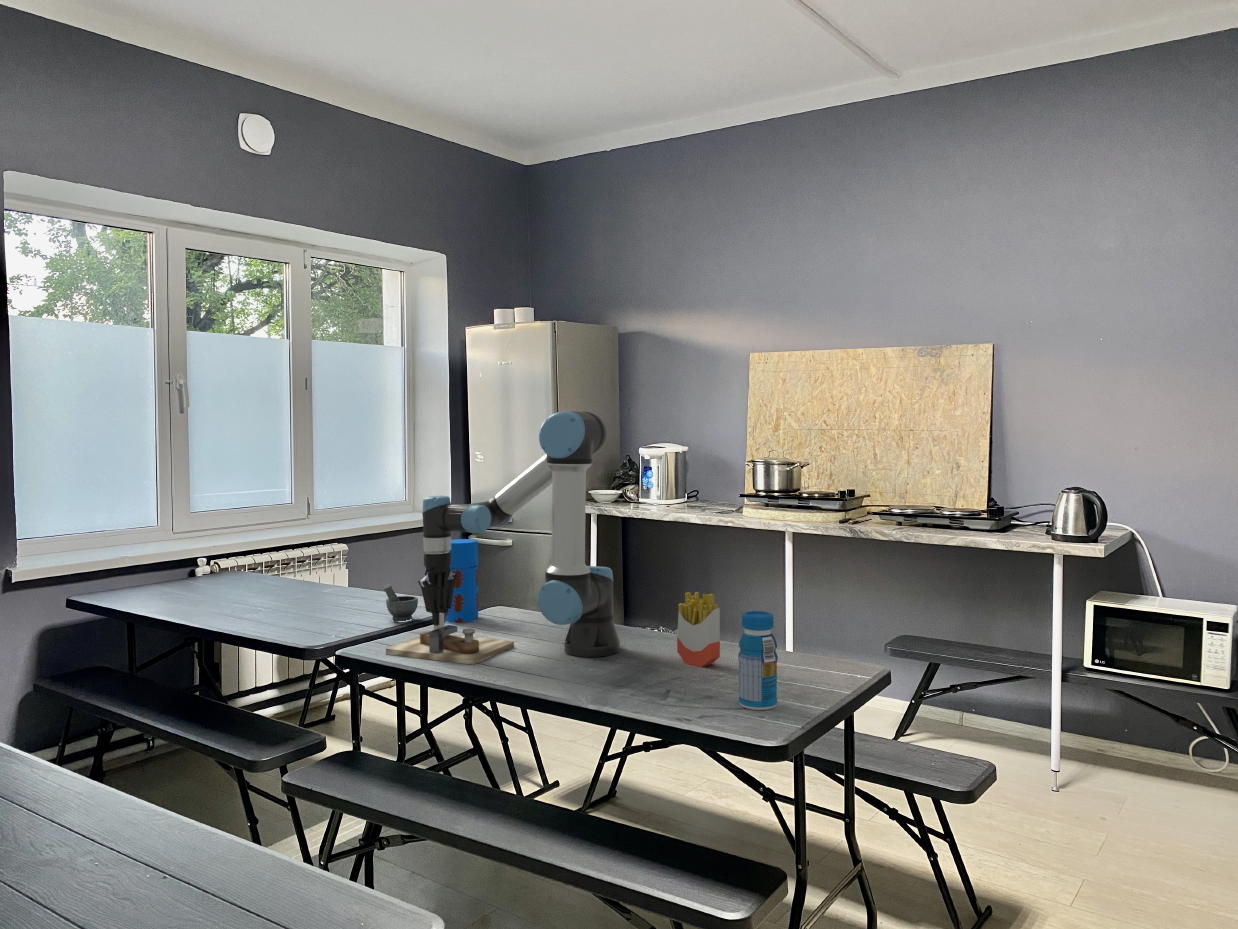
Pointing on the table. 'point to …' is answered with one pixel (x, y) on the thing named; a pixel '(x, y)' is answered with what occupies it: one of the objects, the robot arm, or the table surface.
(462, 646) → the link
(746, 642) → the beverage bottle
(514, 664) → the table surface
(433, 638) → the keeper
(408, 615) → the mortar and pestle
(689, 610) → the french fries container
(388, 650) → the board
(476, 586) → the thermos
